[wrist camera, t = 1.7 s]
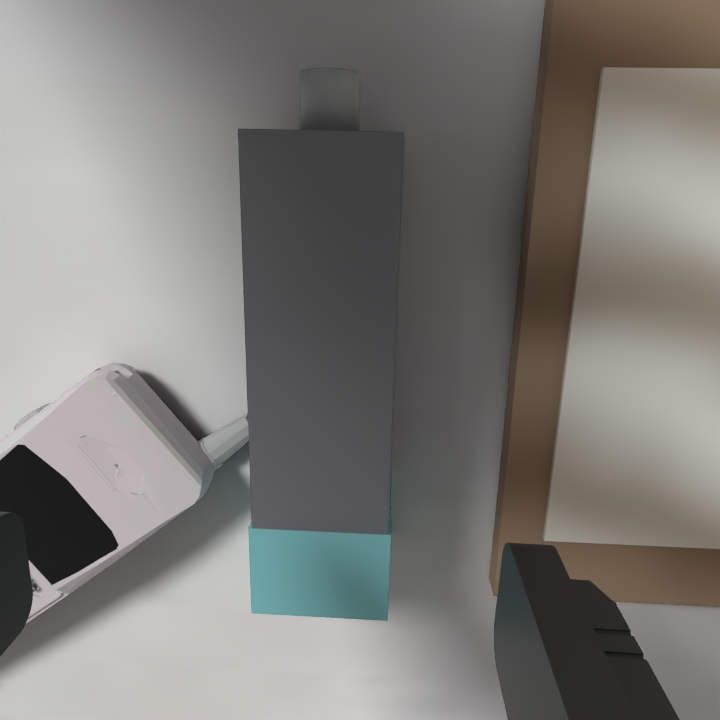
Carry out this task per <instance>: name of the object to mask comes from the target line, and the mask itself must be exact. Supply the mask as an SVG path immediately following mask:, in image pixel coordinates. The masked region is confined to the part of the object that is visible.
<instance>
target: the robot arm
mask: <svg viewBox="0 0 720 720" xmlns="http://www.w3.org/2000/svg"><path fill="white" fill-rule="evenodd" d="M32 601H33V590H32V582H31V575H30V568H29V560H28V553H27V546H26V538H25V531H24V525H23V522H22V519H21V518H20V516H19V515H18V514H16V513H13V512H0V656H1V655H2V654H3V653H4V651H5V650H6V649H7V648H8V647H9V645H10V644H11V643H12V642H13V641H14V640H15V638H16V637H17V636H18V635H19V634H20V632H21V631H22V629H23V628H24V626H25V624H26V622H27V620H28V617H29V614H30V611H31V607H32ZM630 631H631V630H630V629H629V627H628V625H627V623H626V621H625V620H624V618H623V616H622V614H621V612H620V610H619V609H618V607H617V605H616V603H615V602H613V601H612V600H611V599H610V598H609V597H608V596H607V595H606V594H605V593H603V592H602V591H601V590H600V589H599V588H598V587H597V586H596V585H594V584H593V583H592V582H591V581H590V580H576V579H570V577H569V575H568V573H567V571H566V569H565V566H564V564H563V562H562V560H561V558H560V556H559V554H558V551H557V549H556V548H555V547H554V546H553V545H540V544H523V543H506V544H505V545H504V548H503V553H502V561H501V569H500V578H499V587H498V596H497V605H496V614H495V623H494V651H495V661H496V667H497V672H498V676H499V681H500V685H501V690H502V694H503V699H504V703H505V708H506V712H507V717H508V720H679V718H678V716H677V715H676V713H675V711H674V709H673V707H672V705H671V704H670V702H669V700H668V698H667V696H666V694H665V693H664V691H663V689H662V687H661V685H660V683H659V682H658V680H657V678H656V676H655V674H654V672H653V671H652V669H651V667H650V665H649V663H648V662H647V660H644V658H643V652H642V651H641V649H640V647H639V645H638V643H637V641H636V640H635V638H634V636H631V633H630Z"/></svg>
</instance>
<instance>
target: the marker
mask: <svg viewBox="0 0 720 720" xmlns="http://www.w3.org/2000/svg"><path fill="white" fill-rule="evenodd" d="M359 107H360V73H358V72H356V71H352V70H347V69H338V68H312V69H306V70H302V71H301V72H300V111H301V130H275V129H238V142H239V171H240V200H241V229H242V258H243V287H244V316H245V345H246V374H247V403H248V432H249V461H250V490H251V519H252V521H251V523H250V526H249V528H248V529H249V556H250V584H251V611H252V613H258V614H276V615H294V616H312V617H330V618H348V619H366V620H385V621H387V619H388V596H389V572H390V549H391V442H392V418H393V393H394V369H395V345H396V320H397V296H398V272H399V247H400V223H401V199H402V175H403V150H404V132H377V131H359Z"/></svg>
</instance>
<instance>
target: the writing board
mask: <svg viewBox="0 0 720 720" xmlns="http://www.w3.org/2000/svg"><path fill="white" fill-rule="evenodd" d="M506 543H523V544H540V545H553V546H554V547H555V548H556V549H557V551H558V554H559V556H560V558H561V560H562V562H563V564H564V566H565V569H566V571H567V573H568V575H569V577H570V579H576V580H590V581H591V582H592V583H593V584H594V585H596V586H597V587H598V588H599V589H600V590H601V591H602V592H603V593H605V594H606V595H607V596H608V597H609V598H610V599H611V600H612V601H614V602H634V603H654V604H674V605H694V606H713V607H720V0H545V10H544V20H543V31H542V41H541V51H540V62H539V72H538V82H537V92H536V103H535V113H534V123H533V134H532V144H531V154H530V165H529V175H528V185H527V195H526V206H525V216H524V226H523V237H522V247H521V257H520V268H519V278H518V288H517V298H516V309H515V319H514V329H513V340H512V350H511V360H510V371H509V381H508V391H507V401H506V412H505V422H504V432H503V443H502V453H501V463H500V474H499V484H498V494H497V504H496V515H495V525H494V535H493V546H492V556H491V566H490V577H489V579H490V583H491V587H492V591H493V595H494V596H498V587H499V578H500V569H501V561H502V553H503V548H504V545H505V544H506Z"/></svg>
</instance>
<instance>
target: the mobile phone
mask: <svg viewBox="0 0 720 720" xmlns="http://www.w3.org/2000/svg"><path fill="white" fill-rule="evenodd" d="M248 441H249V432H248V414H246V415H244V416H242V417H241V418H239V419H237V420H235V421H233V422H232V423H230V424H228V425H226V426H224V427H222V428H221V429H219V430H217V431H215V432H213V433H212V434H210V435H208V436H207V437H203V438H202V439H200V440H199V441H197V440H196V439H195V438H194V437H193V436H192V434H191V433H190V432H189V431H188V430H187V429H186V428H185V426H184V425H183V424H182V423H181V422H180V421H179V420H178V418H177V417H176V416H175V415H174V414H173V413H172V412H171V410H170V409H169V408H168V407H167V406H166V405H165V404H164V403H163V401H162V400H161V399H160V398H159V397H158V396H157V395H156V393H155V392H154V391H153V390H152V389H151V388H150V387H149V385H148V384H147V383H146V382H145V381H144V380H143V379H142V378H141V376H140V375H139V374H138V373H137V372H136V371H135V370H134V368H133V367H132V366H129V365H126V364H122V363H111V364H108V365H106V366H103V367H101V368H99V369H97V370H95V371H94V372H92V373H91V374H89V375H88V376H87V377H85V378H84V379H83V380H81V381H80V382H79V383H77V384H76V385H75V386H73V387H72V388H71V389H69V390H68V391H67V392H65V393H64V394H62V395H61V396H60V397H58V398H57V399H56V400H54V401H53V402H51V403H49V404H46V405H44V406H42V407H40V408H38V409H36V410H34V411H32V412H30V413H28V414H27V415H26V416H24V417H23V418H22V419H21V420H20V421H19V422H18V423H17V424H16V425H15V427H14V431H13V432H11V433H10V434H9V435H7V436H6V437H5V438H3V439H2V440H1V441H0V512H13V513H16V514H18V515H19V516H20V518H21V519H22V522H23V525H24V531H25V538H26V546H27V553H28V560H29V568H30V575H31V582H32V590H33V601H32V607H31V611H30V614H29V617H28V620H27V622H29V621H30V620H32V619H33V618H35V617H36V616H38V615H39V614H41V613H42V612H44V611H45V610H47V609H48V608H50V607H51V606H53V605H54V604H56V603H57V602H58V601H60V600H61V599H63V598H64V597H66V596H67V595H69V594H70V593H72V592H73V591H74V590H76V589H77V588H79V587H80V586H82V585H83V584H84V583H86V582H87V581H89V580H90V579H92V578H93V577H94V576H96V575H97V574H99V573H100V572H102V571H103V570H104V569H106V568H107V567H109V566H110V565H112V564H113V563H114V562H116V561H117V560H118V559H120V558H121V557H122V556H124V555H125V554H127V553H128V552H129V551H131V550H132V549H133V548H135V547H136V546H138V545H139V544H140V543H142V542H143V541H144V540H146V539H147V538H148V537H150V536H151V535H153V534H154V533H155V532H157V531H158V530H159V529H161V528H162V527H163V526H165V525H166V524H168V523H169V522H170V521H172V520H173V519H174V518H176V517H177V516H179V515H180V514H181V513H183V512H184V511H185V510H187V509H188V508H189V507H191V506H192V505H194V504H195V503H196V502H197V501H199V500H200V499H201V498H202V497H203V495H204V494H205V493H206V492H207V490H208V488H209V486H210V484H211V481H212V479H213V477H214V471H215V470H217V469H218V468H220V467H221V466H222V465H224V461H226V460H227V459H229V458H230V457H231V456H232V455H233V454H235V453H236V452H237V451H238V450H239V449H240V448H242V447H243V446H244V445H245V444H246V443H247V442H248ZM27 622H26V623H27Z"/></svg>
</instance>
